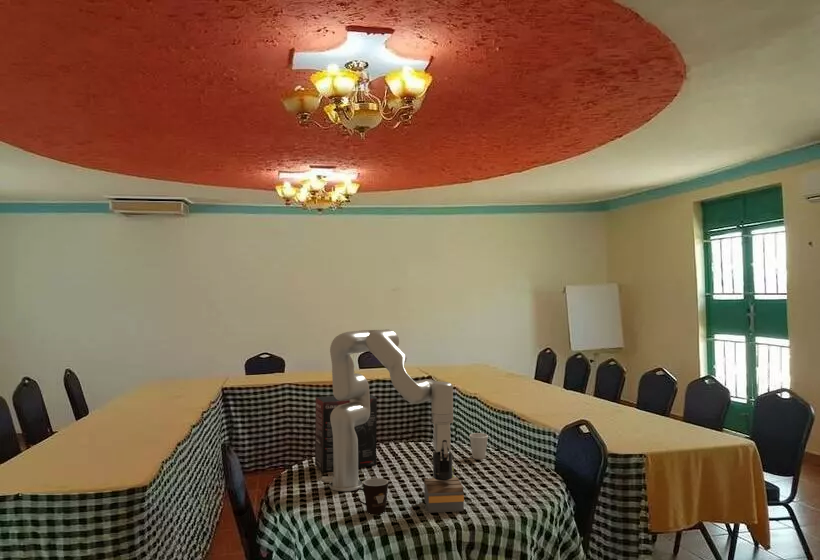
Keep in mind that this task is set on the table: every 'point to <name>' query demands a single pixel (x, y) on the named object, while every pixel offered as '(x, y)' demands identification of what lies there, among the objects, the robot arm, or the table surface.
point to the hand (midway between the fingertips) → (442, 468)
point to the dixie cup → (478, 445)
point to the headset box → (325, 434)
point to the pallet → (443, 485)
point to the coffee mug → (374, 495)
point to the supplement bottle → (436, 467)
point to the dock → (444, 501)
